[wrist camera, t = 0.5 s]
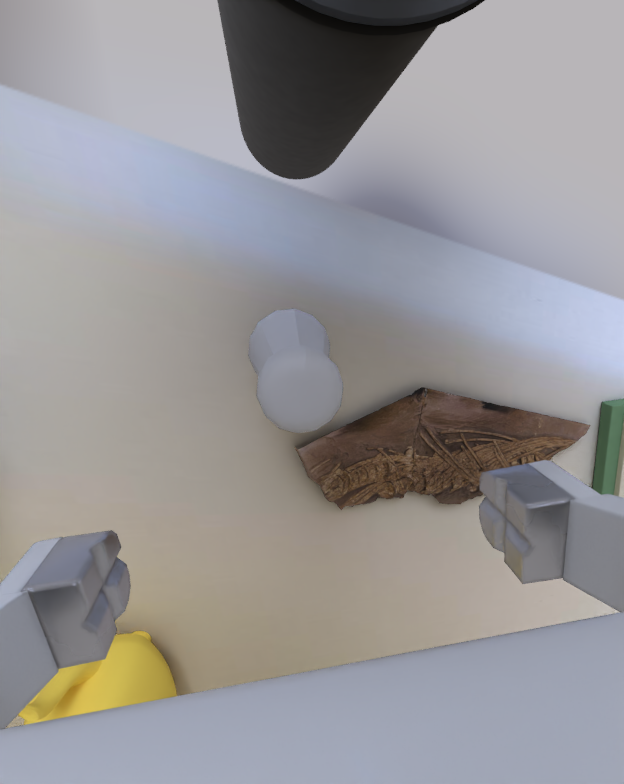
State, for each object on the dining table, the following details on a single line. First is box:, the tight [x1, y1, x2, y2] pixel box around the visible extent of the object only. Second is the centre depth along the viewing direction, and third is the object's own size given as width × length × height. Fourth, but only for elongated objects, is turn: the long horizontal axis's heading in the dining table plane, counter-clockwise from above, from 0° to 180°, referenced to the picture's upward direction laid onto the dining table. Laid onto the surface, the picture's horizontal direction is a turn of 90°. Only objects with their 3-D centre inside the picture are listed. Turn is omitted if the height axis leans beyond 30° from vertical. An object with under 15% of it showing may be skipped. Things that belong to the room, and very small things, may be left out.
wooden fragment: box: [295, 388, 590, 510], centre depth 36 cm, size 26×11×1 cm, turn 89°
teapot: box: [18, 631, 177, 725], centre depth 35 cm, size 18×11×11 cm, turn 11°
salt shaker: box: [248, 309, 343, 433], centre depth 26 cm, size 6×6×13 cm
